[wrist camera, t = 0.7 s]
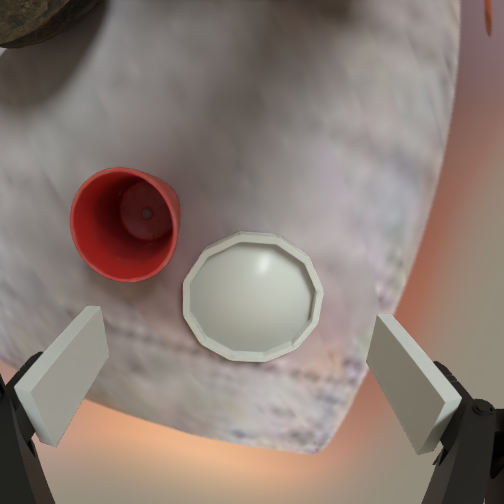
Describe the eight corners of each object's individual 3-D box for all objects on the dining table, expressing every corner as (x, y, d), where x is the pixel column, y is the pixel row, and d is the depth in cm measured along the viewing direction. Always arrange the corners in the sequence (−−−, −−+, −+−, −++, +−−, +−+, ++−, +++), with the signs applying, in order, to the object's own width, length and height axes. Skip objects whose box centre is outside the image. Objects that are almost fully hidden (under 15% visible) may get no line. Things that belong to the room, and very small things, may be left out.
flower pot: (150, 272, 38) (124, 305, 29) (92, 208, 36) (51, 223, 26) (212, 215, 36) (202, 233, 27) (150, 146, 34) (119, 141, 25)
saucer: (186, 227, 37) (184, 230, 35) (327, 237, 38) (331, 241, 36) (185, 349, 41) (183, 356, 39) (307, 355, 42) (309, 363, 40)
